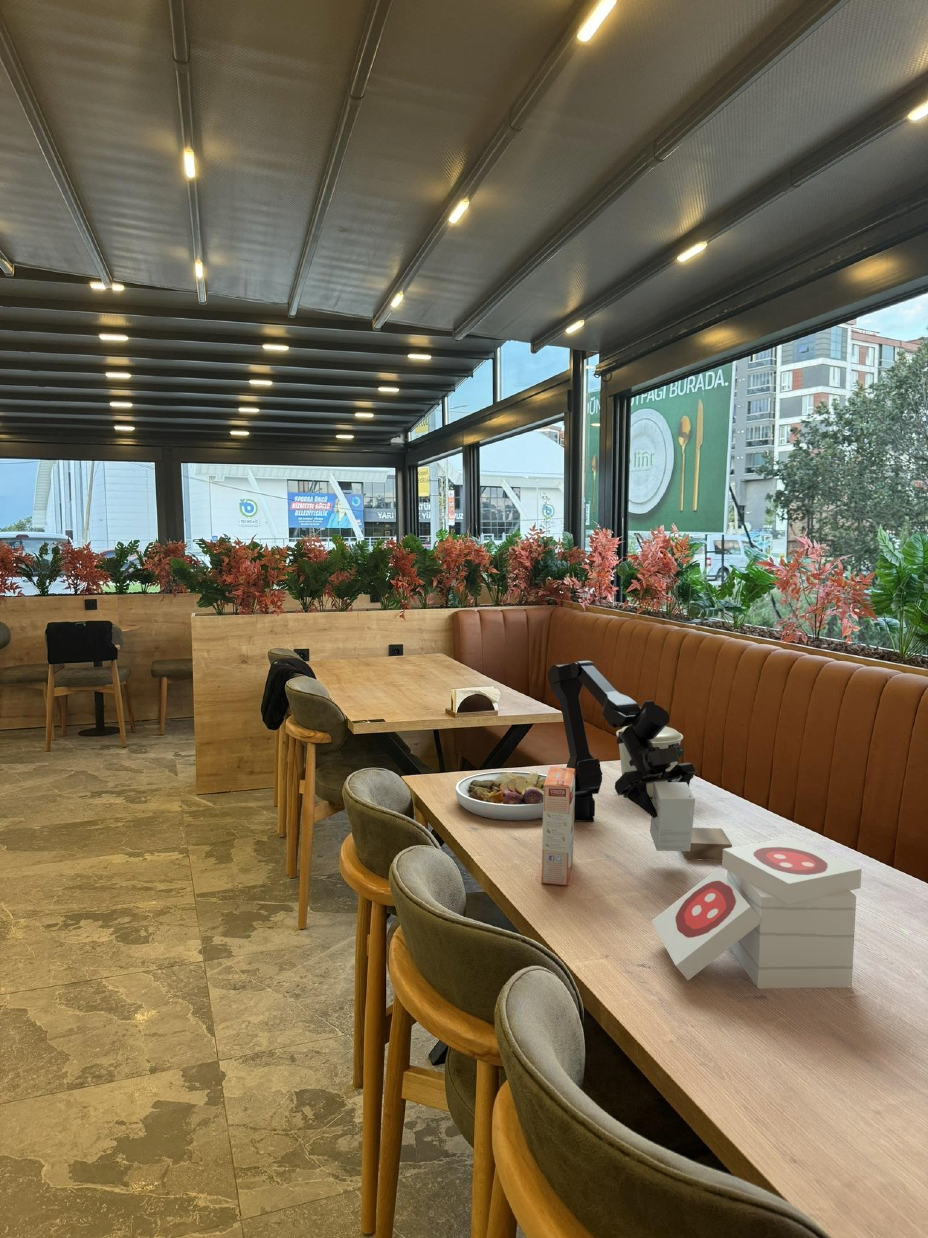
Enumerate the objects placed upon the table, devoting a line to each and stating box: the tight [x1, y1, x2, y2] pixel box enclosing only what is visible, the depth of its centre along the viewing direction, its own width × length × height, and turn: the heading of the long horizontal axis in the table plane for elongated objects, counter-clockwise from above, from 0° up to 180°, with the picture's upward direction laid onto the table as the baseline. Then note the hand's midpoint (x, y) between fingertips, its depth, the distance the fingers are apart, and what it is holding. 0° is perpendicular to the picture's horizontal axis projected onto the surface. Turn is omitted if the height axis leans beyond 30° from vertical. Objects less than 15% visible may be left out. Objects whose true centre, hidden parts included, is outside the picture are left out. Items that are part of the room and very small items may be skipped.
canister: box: [615, 725, 684, 798], centre depth 224 cm, size 18×18×21 cm
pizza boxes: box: [651, 836, 862, 989], centre depth 132 cm, size 19×30×18 cm, turn 91°
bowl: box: [455, 770, 547, 821], centre depth 214 cm, size 30×30×8 cm
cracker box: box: [541, 766, 575, 887], centre depth 169 cm, size 14×6×21 cm, turn 168°
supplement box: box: [649, 782, 696, 852], centre depth 172 cm, size 7×7×13 cm
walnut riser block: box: [680, 827, 733, 861], centre depth 182 cm, size 10×10×4 cm
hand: (673, 813), depth 172 cm, fingers closed on supplement box, 9 cm apart
